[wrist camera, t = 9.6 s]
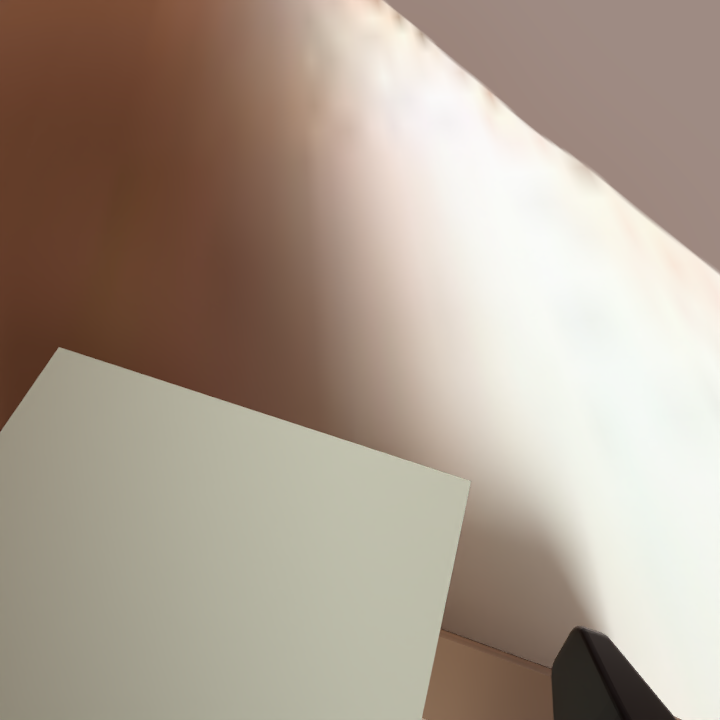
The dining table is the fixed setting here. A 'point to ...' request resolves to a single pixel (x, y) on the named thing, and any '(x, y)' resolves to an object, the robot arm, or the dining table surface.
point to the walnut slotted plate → (485, 684)
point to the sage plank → (210, 559)
